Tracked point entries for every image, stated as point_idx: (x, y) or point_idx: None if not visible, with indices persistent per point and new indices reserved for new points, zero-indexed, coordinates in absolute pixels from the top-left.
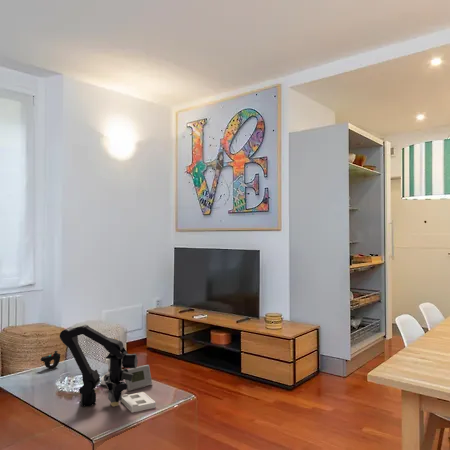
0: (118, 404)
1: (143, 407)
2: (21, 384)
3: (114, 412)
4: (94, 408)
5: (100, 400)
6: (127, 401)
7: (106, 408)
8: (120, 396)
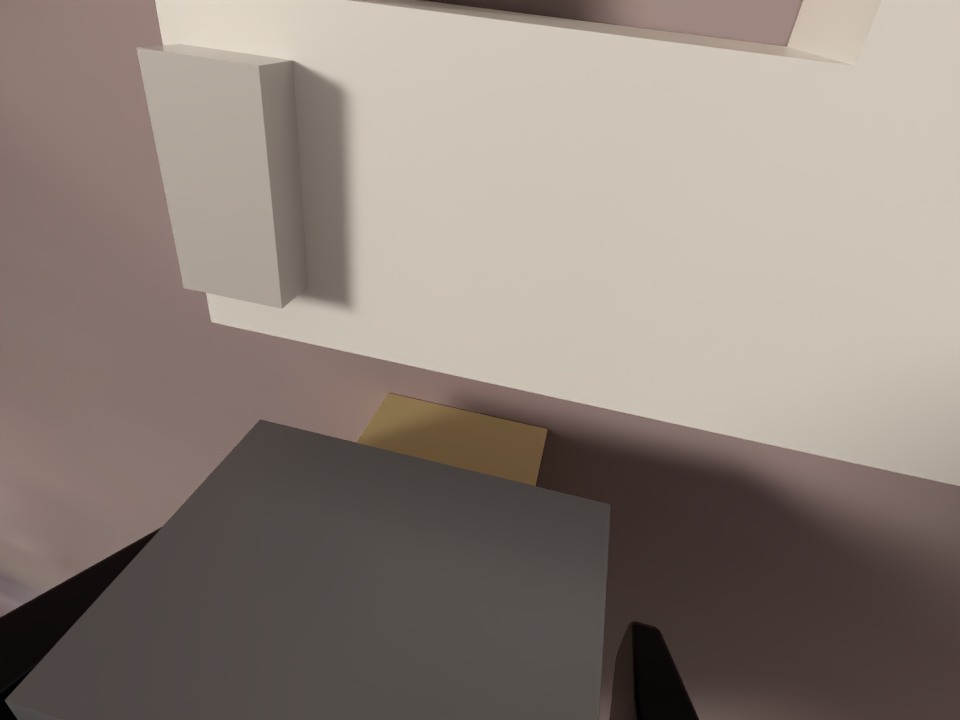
0: (541, 446)
1: None
2: None
3: (860, 675)
4: None
5: (109, 509)
6: (918, 430)
7: None
8: (588, 672)
